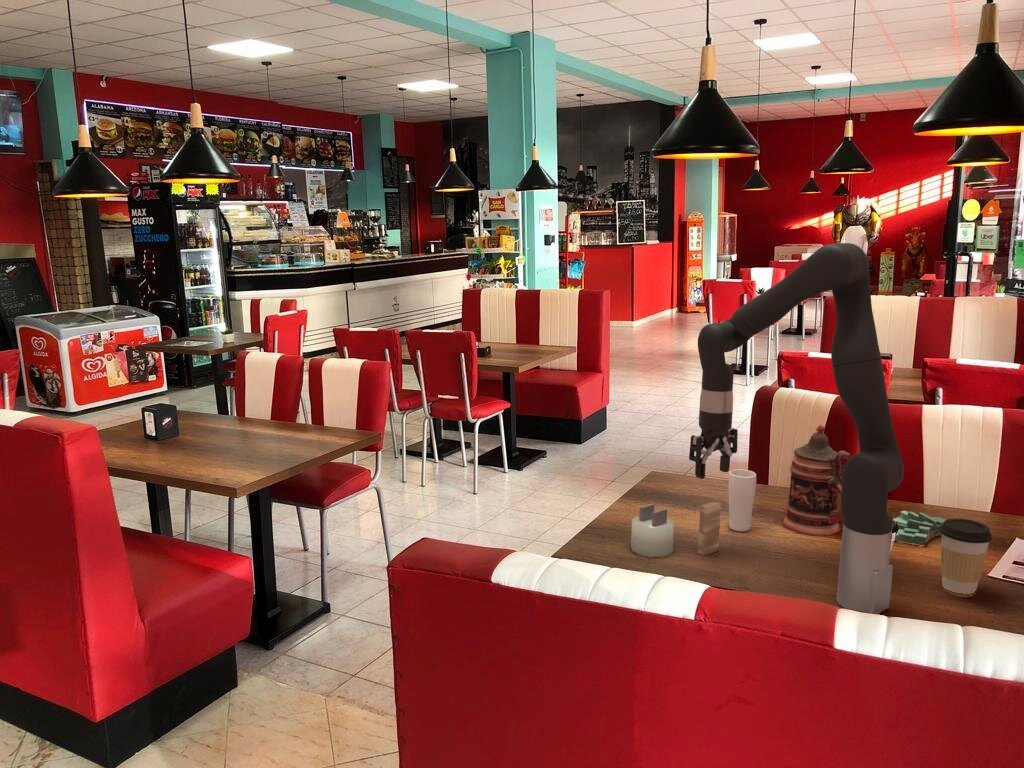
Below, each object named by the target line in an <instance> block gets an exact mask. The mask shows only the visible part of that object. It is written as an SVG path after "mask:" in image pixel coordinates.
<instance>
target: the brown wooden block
mask: <svg viewBox="0 0 1024 768" xmlns="http://www.w3.org/2000/svg"><path fill="white" fill-rule="evenodd" d="M721 509H722V503H721V502H718V501H716V500H714V501H710V502H707V503H703V504H701V505H700V508H699V523H698V525H699V526H698V527H699V528H698V546H697V547H698V548H697V550H698V551H697V553H698V554H700V555H703V556H706V555H710V554H712V553H715V552H718V551H719V546H720V528H721V527H720V526H721V511H722V510H721Z"/></svg>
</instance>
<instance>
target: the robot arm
mask: <svg viewBox="0 0 1024 768" xmlns="http://www.w3.org/2000/svg"><path fill="white" fill-rule="evenodd" d="M830 290H831V292H832V296H833V302H834V308H835V314H836V315H835V316H836V317H835V318H836V319H835V328H834V333H833V339H832V344H831V352H830V354H831V355H830V357H831V365H832V373H833V378H834V383H835V386H836V387H835V388H836V390H837V392H838V393H837V394H839V397H840V400H842V403H843V404H844V406H845V408H846V409H847V411H848V413H849V414H850V416H851V417H852V419H853V422H854V425H855V428H856V433H857V438H858V446H859V447H858V448H859V452H858V453H856V454H853V455H851V456H849V457H850V458H848V459H846V461H845V463H844V465H845V466H844V468H843V474H842V487H841V493H840V508H841V510H842V513H843V516H844V518H843V519H842V520H843V523H842V528H843V529H842V530H841V531H842V532H841V533H842V534H841V545H840V554H839V555H840V557H839V567H838V578H837V579H838V580H837V589H836V602H839V604H841V605H842V607H845V608H849V609H854V610H858V611H863V612H869V613H876V612H879V610H882V609H883V608H885V607H886V606H888V605H889V606H890V600H891V590H892V582H893V571H894V566H893V565H892V564H890V557H891V556H890V555H891V547H892V541H891V539H892V529H893V518H894V517H893V516H892V514H891V513H889V512H888V494H889V492H892V491H893V490H895V489H896V488H898V487H899V486H900V485H901V483H902V481H903V479H904V475H905V466H904V462H903V458H902V457H903V456H902V454H901V451H900V448H899V444H898V441H897V437H896V434H895V429H894V426H893V422H892V417H891V412H890V405H889V404H890V403H889V398H888V393H887V389H886V388H887V386H886V381H885V380H886V379H885V373H884V367H883V362H882V361H883V360H882V356H881V351H880V345H879V340H878V335H877V327H876V323H875V317H874V313H873V306H872V293H871V292H872V291H871V274H870V264H869V259H868V256H867V254H866V252H865V251H864V250H863V249H862V248H861V246H858V245H857V244H855V243H851V242H849V243H848V242H841V243H840V242H838V243H837V242H836V243H828V244H825V245H822V246H821V247H819V248H818V249H817V250H815V251H814V252H813V253H812V254H811V255H809V256H808V257H807V258H806V259H805V260H804V261H803V262H802V263H801V264H799V265H798V266H797V267H796V268H795V269H793V271H792V272H791V273H789V274H788V275H786V276H785V277H784V278H783V279H781V280H780V281H779V282H777V283H776V284H774V285H773V286H771V287H770V288H768V289H767V290H765V291H764V292H762V293H760V294H759V295H757V296H755V297H754V298H752V299H751V300H749V301H747V302H746V303H744V304H743V305H741V306H740V307H738V308H737V309H736V310H735V311H734V312H733V314H732V316H731V317H729V318H728V319H726V320H724V321H721V322H720V321H719V322H713V323H707V324H706V325H703V327H702V328H701V329H700V331H699V334H698V337H697V351H698V355H699V362H700V365H701V366H700V367H701V369H702V374H701V375H702V376H701V390H700V394H699V395H700V397H699V410H698V426H699V428H700V430H701V433H700V435H693V434H692V435H691V436H690V445H689V453H688V459H689V461H692V462H694V463H695V469H694V474H695V475H694V476H695V477H696V478H698V479H701V480H703V479H705V478H706V465H707V464H706V462H707V459H708V457H711V456H712V454H713V453H714V452H716V451H719V453H720V456H719V457H720V459H719V471H720V472H722V473H729V472H730V467H731V465H730V464H731V458H732V457H733V456H732V455H733V454H736V453H737V452H738V439H739V438H738V431H739V430H738V429H736V428H733V426H732V425H733V414H734V413H733V412H734V411H733V410H734V390H733V389H734V368H733V366H732V365H731V364H728V363H727V361H726V357H725V353H729V352H732V351H735V350H737V349H738V348H740V347H742V346H743V345H745V344H746V343H747V342H749V340H750V339H751V338H753V337H754V336H755V335H757V334H759V333H762V332H763V331H764V330H766V329H768V328H769V327H771V326H773V325H775V324H776V323H777V322H779V321H780V320H782V319H783V318H784V317H785V316H786V315H788V314H789V313H790V312H791V310H793V309H794V308H795V307H796V306H798V305H799V304H801V303H802V302H804V301H806V300H808V299H810V298H812V297H814V296H816V295H817V296H818V295H820V294H822V293H824V292H827V291H830ZM839 604H838V605H839ZM842 607H841V608H842ZM866 610H867V611H866ZM878 615H879V613H878Z"/></svg>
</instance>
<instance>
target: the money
mask: <svg viewBox="0 0 1024 768" xmlns="http://www.w3.org/2000/svg"><path fill="white" fill-rule="evenodd" d="M899 513H900V515H899V516H897V517H893V521H895V522H897V524H898V528H899V530H898V532H897V534H896V538H895V540H898V541H904V542H908V543H915V544H919V545H925V543H926V541H927V540H928V539H929V538H930V537H932V536H934V535H936V534H939V533H940V531H939V529H940V527H941V525H943V523H944V521H945V520H946V519H945V518H942V517H939V516H930V515H928V514H926V513H924V512H918V513H917V512H914V511H907V510H902V511H900V512H899ZM926 544H927V543H926Z"/></svg>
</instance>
